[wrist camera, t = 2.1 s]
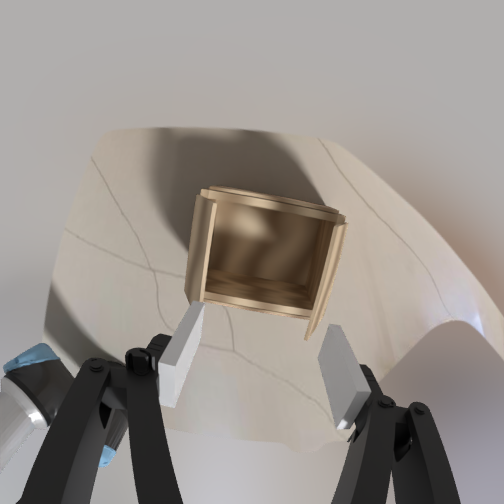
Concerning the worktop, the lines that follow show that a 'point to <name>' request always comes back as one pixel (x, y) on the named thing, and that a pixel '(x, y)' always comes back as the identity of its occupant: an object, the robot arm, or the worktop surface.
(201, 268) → the flap
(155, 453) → the robot arm
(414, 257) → the worktop surface
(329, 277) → the flap
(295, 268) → the carton
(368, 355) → the worktop surface
